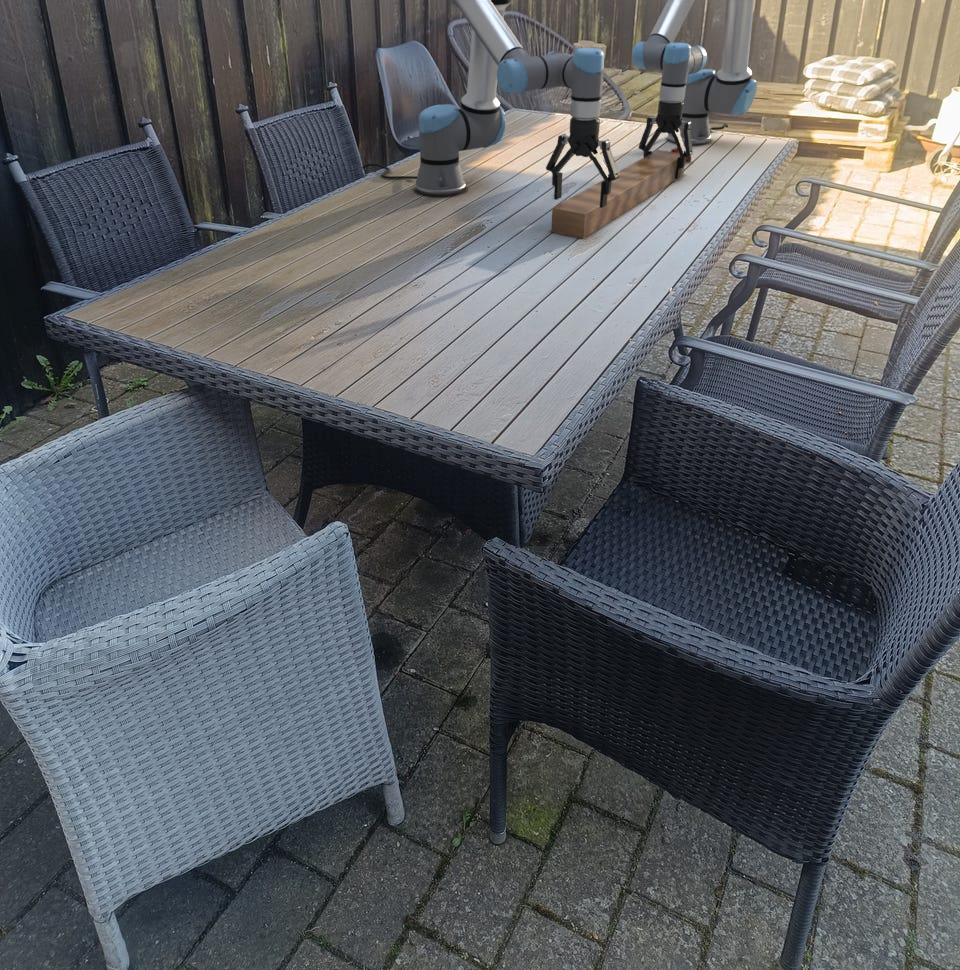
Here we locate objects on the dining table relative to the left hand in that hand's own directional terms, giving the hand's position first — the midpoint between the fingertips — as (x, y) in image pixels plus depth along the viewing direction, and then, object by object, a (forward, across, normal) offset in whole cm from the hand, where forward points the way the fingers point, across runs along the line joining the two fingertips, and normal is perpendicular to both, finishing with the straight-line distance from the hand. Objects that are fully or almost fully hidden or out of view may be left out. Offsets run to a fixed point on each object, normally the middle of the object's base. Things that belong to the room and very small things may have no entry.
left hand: (580, 202), depth 225 cm
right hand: (+6, 0, -59) cm, 59 cm away
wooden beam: (+7, 0, -30) cm, 30 cm away
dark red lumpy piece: (+7, +3, -80) cm, 80 cm away
